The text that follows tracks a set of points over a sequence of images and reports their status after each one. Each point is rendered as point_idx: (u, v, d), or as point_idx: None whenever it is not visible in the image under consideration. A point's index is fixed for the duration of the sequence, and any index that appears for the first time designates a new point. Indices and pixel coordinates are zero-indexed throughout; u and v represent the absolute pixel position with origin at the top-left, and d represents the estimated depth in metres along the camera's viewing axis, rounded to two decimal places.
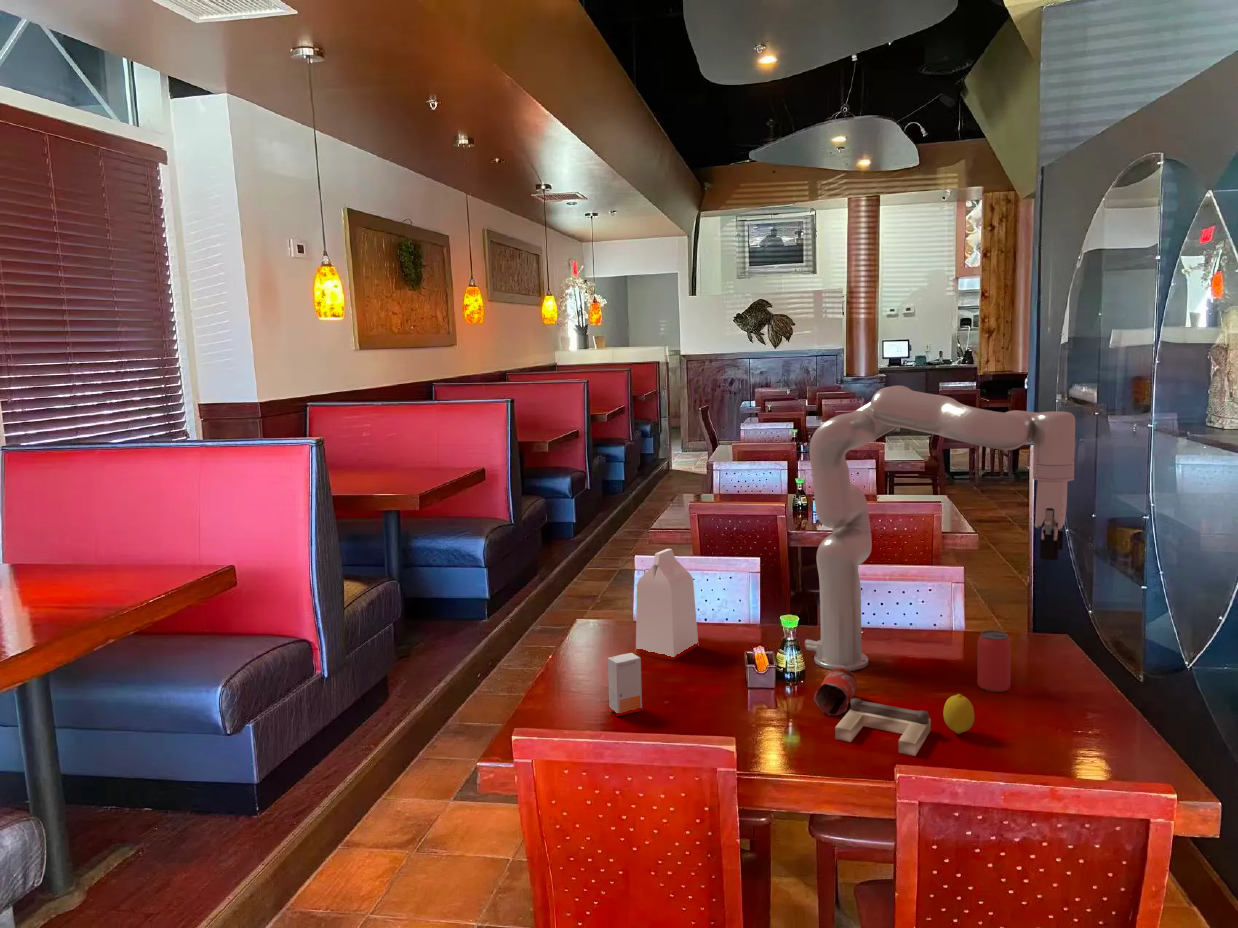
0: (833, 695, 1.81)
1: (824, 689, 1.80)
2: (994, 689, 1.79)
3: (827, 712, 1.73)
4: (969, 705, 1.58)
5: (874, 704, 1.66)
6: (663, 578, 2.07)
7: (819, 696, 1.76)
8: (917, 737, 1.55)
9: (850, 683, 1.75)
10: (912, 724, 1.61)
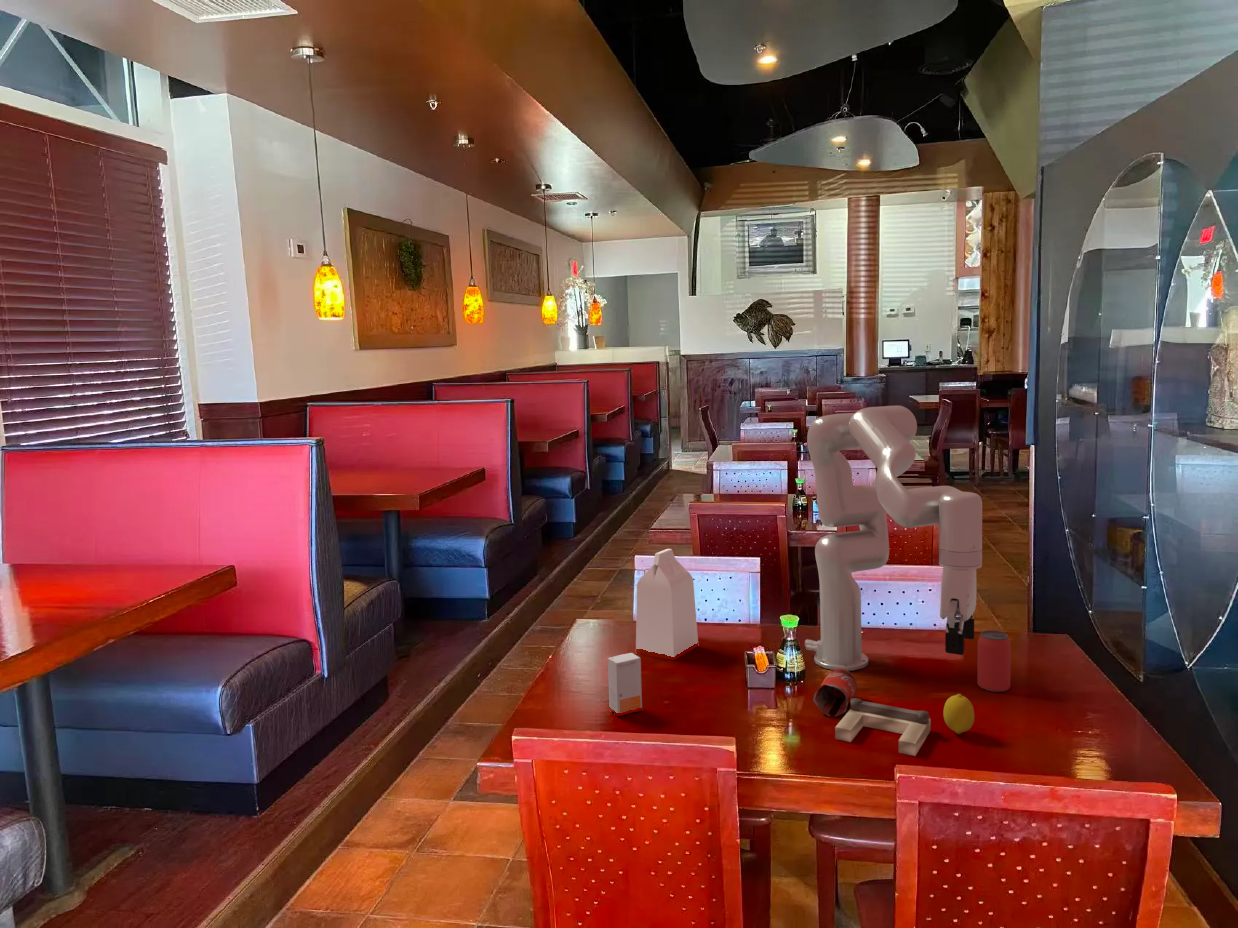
0: (832, 696, 1.80)
1: (824, 690, 1.79)
2: (994, 689, 1.79)
3: (827, 713, 1.73)
4: (969, 705, 1.58)
5: (874, 704, 1.66)
6: (663, 578, 2.07)
7: (819, 697, 1.76)
8: (917, 737, 1.55)
9: (850, 684, 1.75)
10: (912, 724, 1.61)
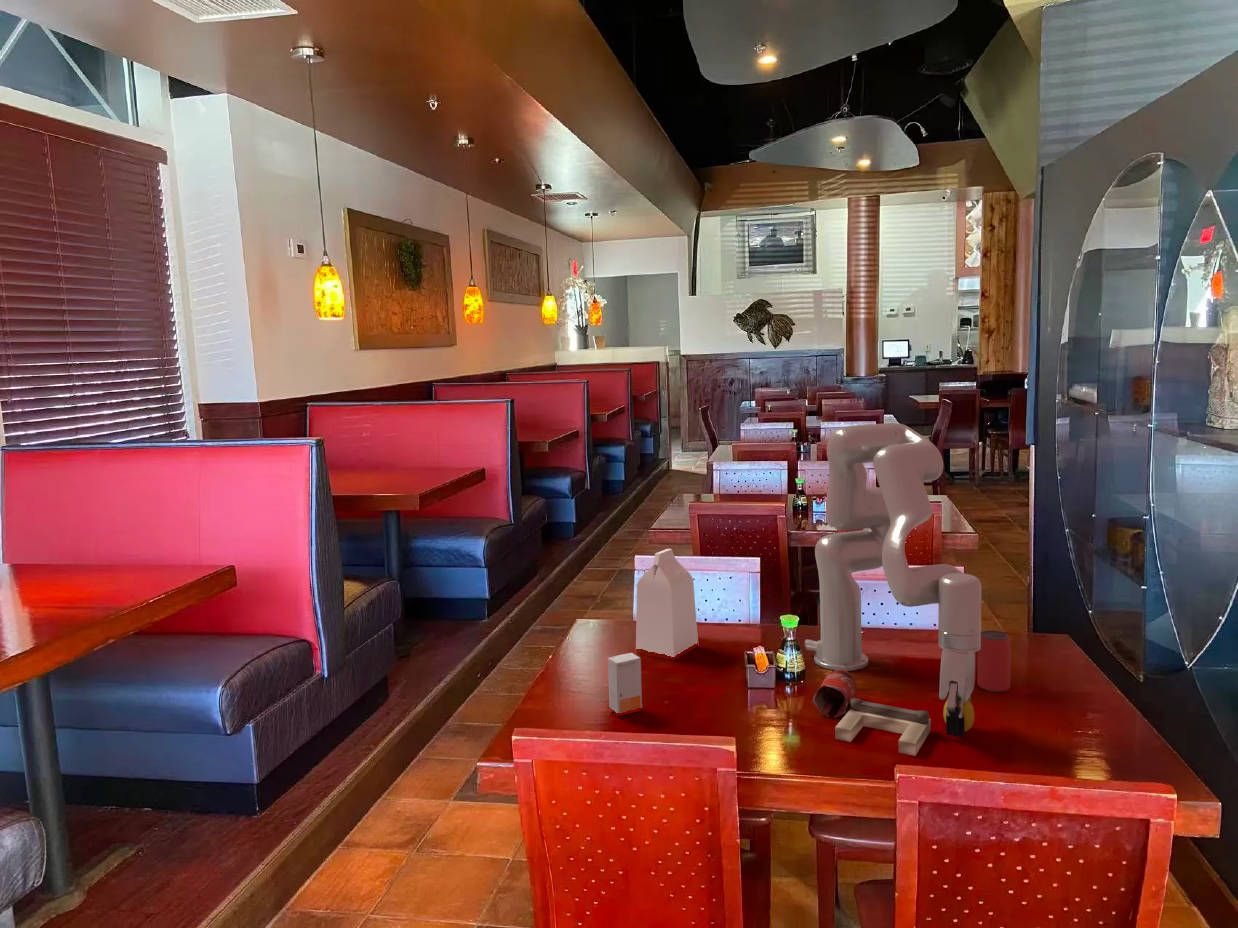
0: (832, 697, 1.80)
1: (823, 691, 1.79)
2: (994, 689, 1.79)
3: (826, 714, 1.72)
4: (969, 705, 1.58)
5: (874, 704, 1.66)
6: (663, 578, 2.07)
7: (818, 698, 1.75)
8: (917, 737, 1.55)
9: (850, 685, 1.74)
10: (912, 724, 1.61)
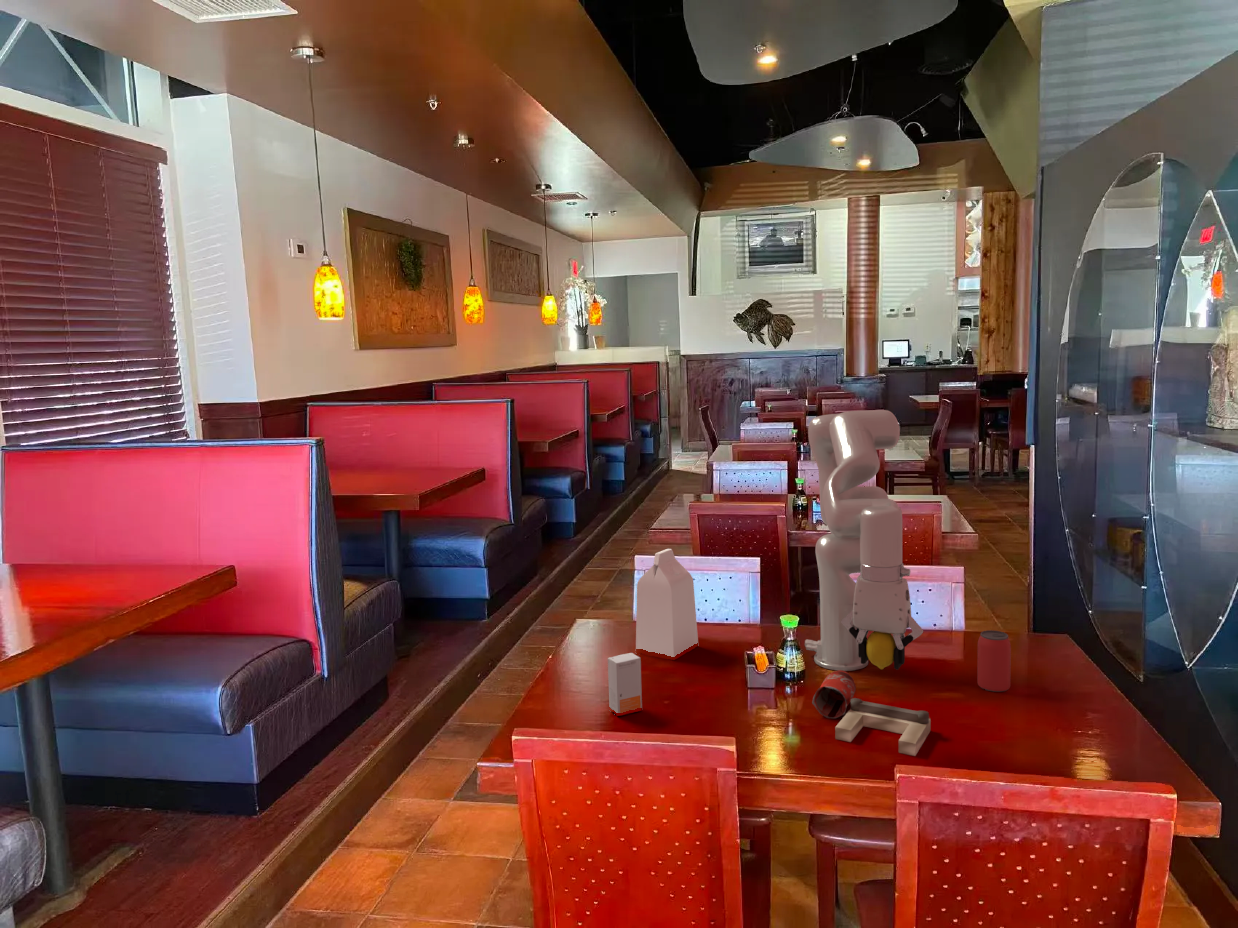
0: (832, 698, 1.79)
1: (823, 692, 1.78)
2: (994, 689, 1.79)
3: (826, 715, 1.72)
4: (873, 639, 1.57)
5: (874, 704, 1.66)
6: (663, 578, 2.07)
7: (818, 699, 1.75)
8: (917, 737, 1.55)
9: (849, 686, 1.74)
10: (912, 724, 1.61)
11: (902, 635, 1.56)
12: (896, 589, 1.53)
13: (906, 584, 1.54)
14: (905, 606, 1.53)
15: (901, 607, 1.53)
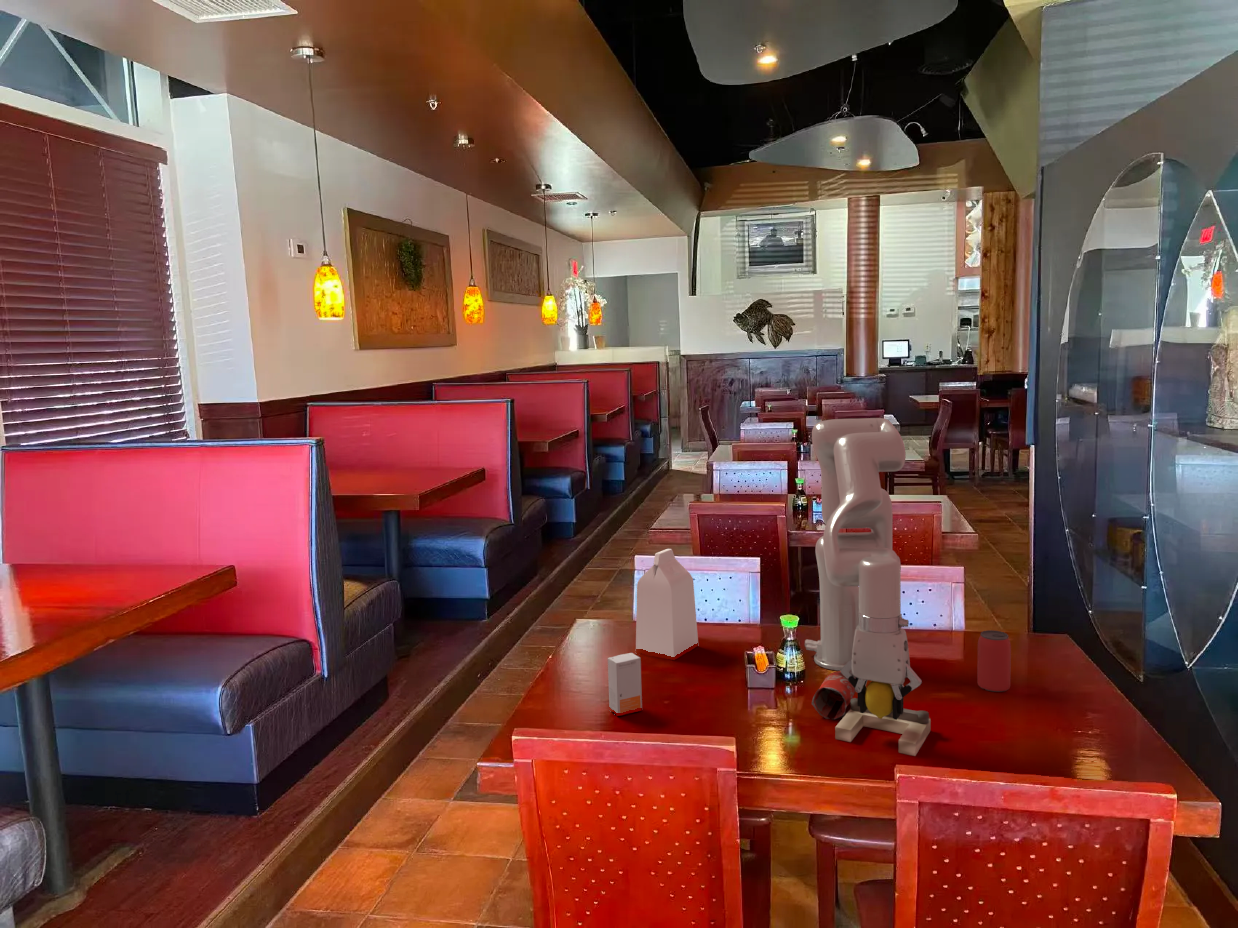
0: (831, 699, 1.79)
1: (822, 693, 1.78)
2: (994, 689, 1.79)
3: (825, 716, 1.71)
4: (872, 689, 1.58)
5: None
6: (663, 578, 2.07)
7: (817, 700, 1.74)
8: (917, 737, 1.55)
9: (849, 686, 1.73)
10: (912, 724, 1.61)
11: (901, 685, 1.58)
12: (895, 640, 1.54)
13: (904, 635, 1.56)
14: (903, 657, 1.54)
15: (899, 658, 1.54)
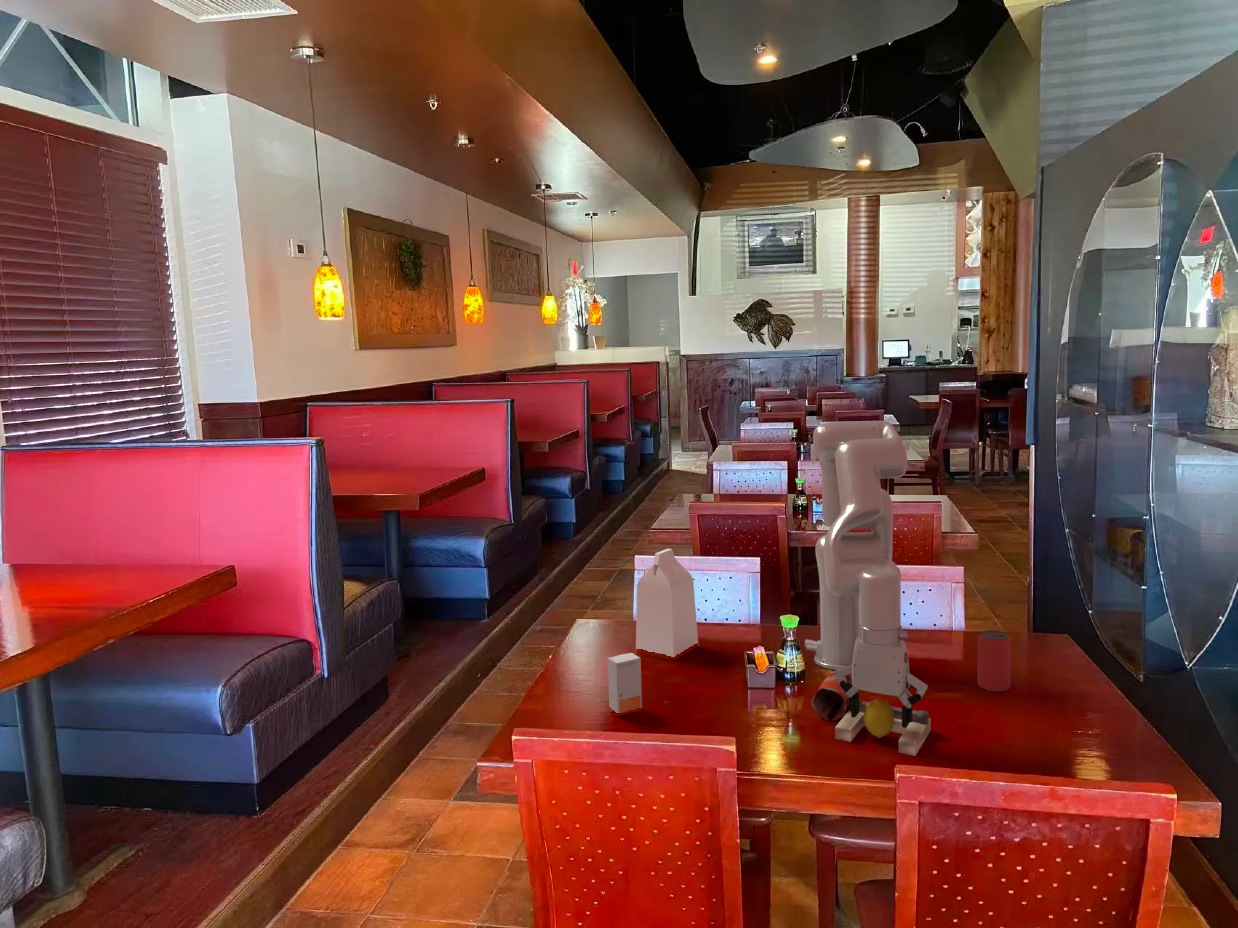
0: (831, 699, 1.79)
1: (822, 693, 1.77)
2: (994, 689, 1.79)
3: (825, 717, 1.71)
4: (871, 709, 1.59)
5: None
6: (663, 578, 2.07)
7: (817, 700, 1.74)
8: (917, 737, 1.55)
9: None
10: (912, 724, 1.61)
11: (907, 693, 1.57)
12: (895, 652, 1.54)
13: (904, 646, 1.56)
14: (903, 669, 1.55)
15: (899, 670, 1.54)
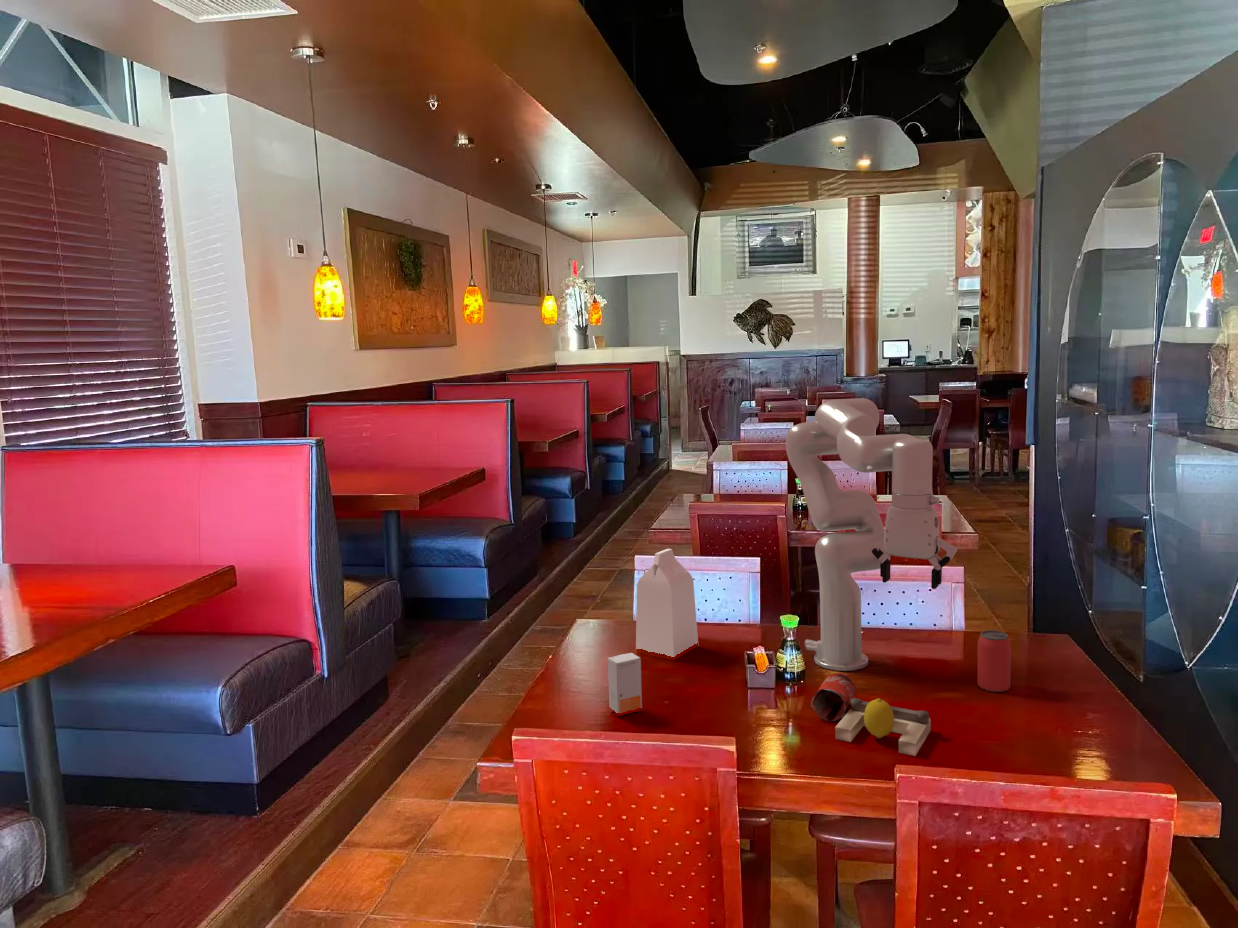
0: (830, 700, 1.78)
1: (822, 694, 1.77)
2: (994, 689, 1.79)
3: (824, 718, 1.70)
4: (871, 709, 1.59)
5: None
6: (663, 578, 2.07)
7: (816, 701, 1.74)
8: (917, 737, 1.55)
9: (848, 688, 1.73)
10: (912, 724, 1.61)
11: (937, 557, 1.65)
12: (926, 516, 1.62)
13: (935, 512, 1.64)
14: (934, 532, 1.63)
15: (930, 533, 1.63)
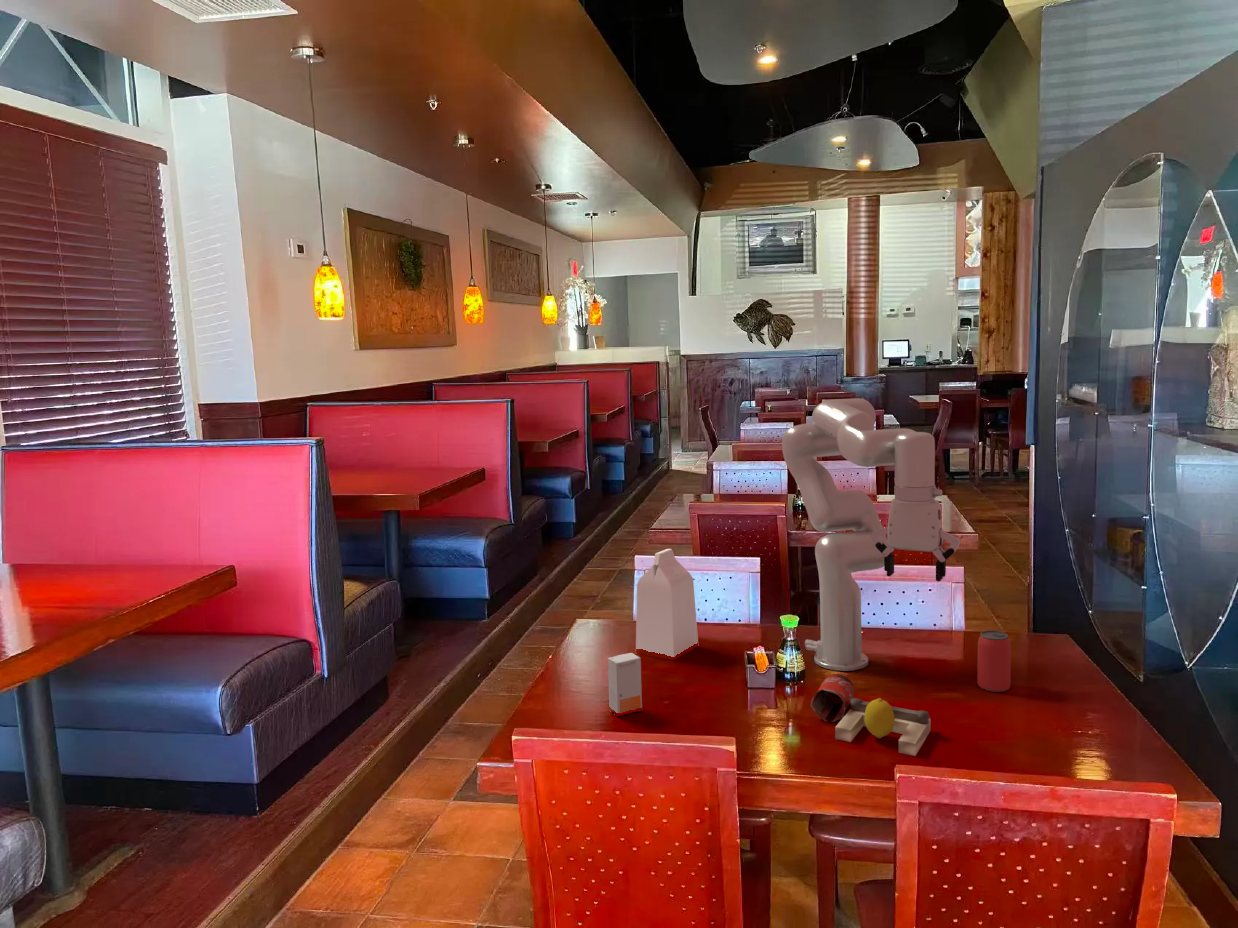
0: (830, 701, 1.78)
1: (821, 695, 1.77)
2: (994, 689, 1.79)
3: (824, 718, 1.70)
4: (872, 709, 1.59)
5: None
6: (663, 578, 2.07)
7: (816, 702, 1.73)
8: (917, 737, 1.55)
9: (848, 689, 1.72)
10: (912, 724, 1.61)
11: (941, 550, 1.66)
12: (929, 508, 1.63)
13: (938, 504, 1.65)
14: (937, 524, 1.64)
15: (934, 525, 1.63)
